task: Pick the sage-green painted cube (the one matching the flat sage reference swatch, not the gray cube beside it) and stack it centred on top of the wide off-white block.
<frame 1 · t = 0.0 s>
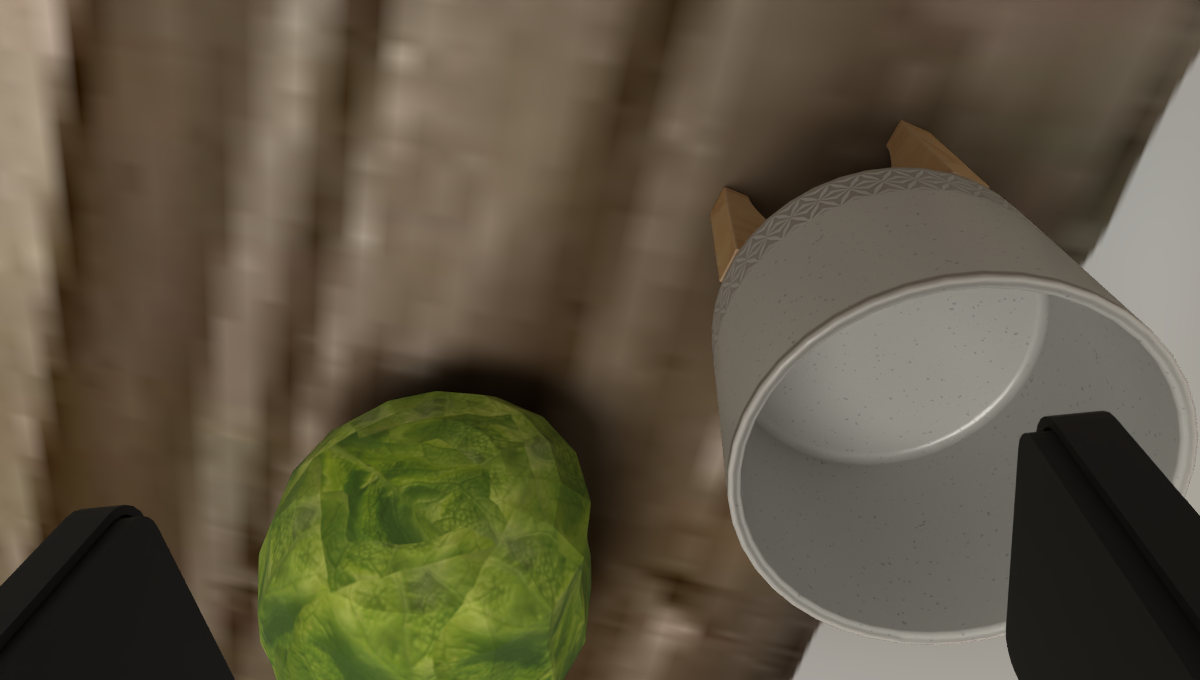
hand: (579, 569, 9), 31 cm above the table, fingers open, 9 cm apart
planter: (840, 251, 40), on the table
green rounded lump: (462, 511, 49), on the table
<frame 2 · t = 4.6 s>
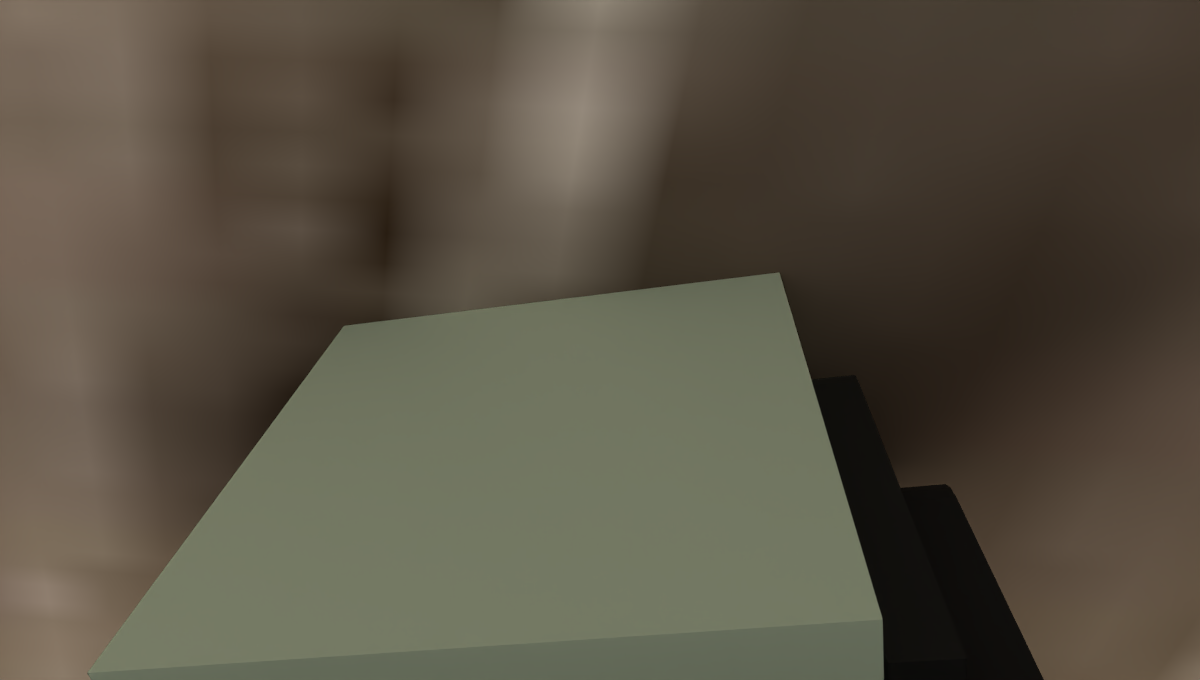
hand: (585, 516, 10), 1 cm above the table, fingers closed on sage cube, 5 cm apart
sage cube: (591, 479, 11), on the table, touching gripper
when the fingers open (5 cm above the table, at t = 8.3 s): sage cube stays where it is, resting on base block.
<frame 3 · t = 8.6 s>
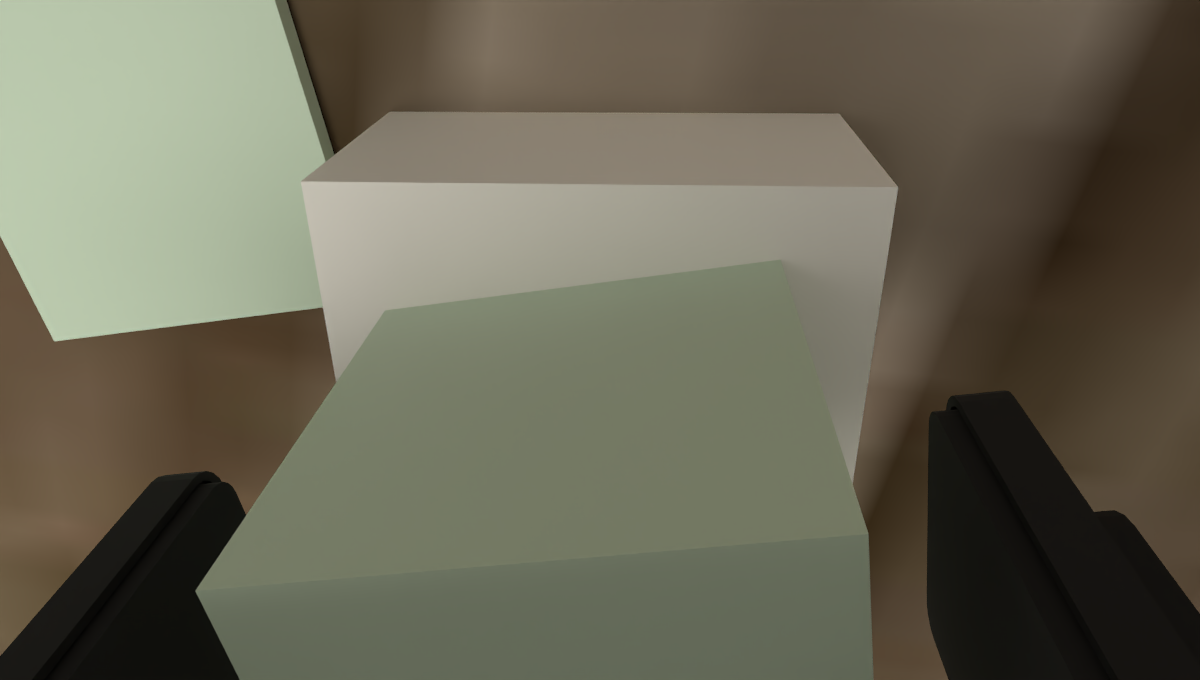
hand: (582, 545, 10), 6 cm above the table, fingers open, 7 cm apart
base block: (612, 308, 15), on the table, touching sage cube
sage cube: (609, 451, 12), point 4 cm above the table, touching base block
reference swatch: (151, 148, 14), on the table
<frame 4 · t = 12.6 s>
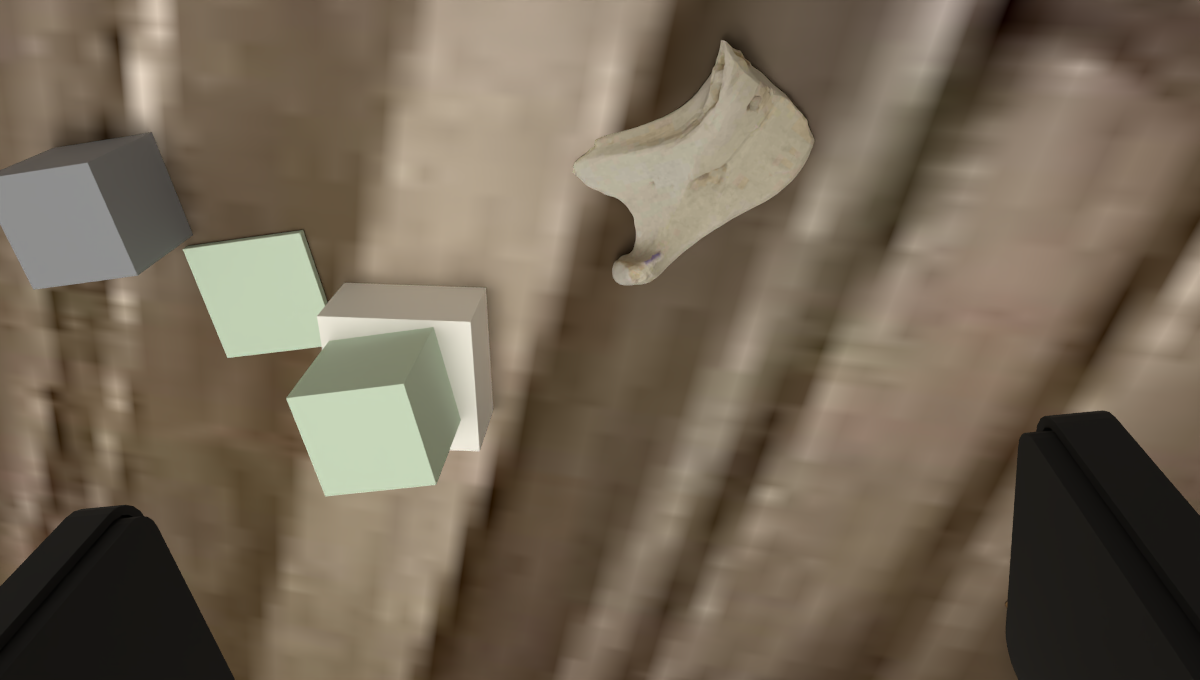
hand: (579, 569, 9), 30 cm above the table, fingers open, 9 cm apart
base block: (422, 346, 43), on the table, touching sage cube
sage cube: (396, 381, 40), point 4 cm above the table, touching base block
gray cube: (125, 191, 40), on the table
reference swatch: (265, 294, 42), on the table
fossil: (679, 166, 39), on the table
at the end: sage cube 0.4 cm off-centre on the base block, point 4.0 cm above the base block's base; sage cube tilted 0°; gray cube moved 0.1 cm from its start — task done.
